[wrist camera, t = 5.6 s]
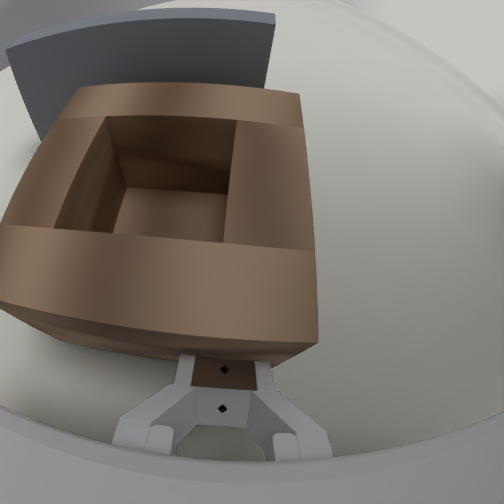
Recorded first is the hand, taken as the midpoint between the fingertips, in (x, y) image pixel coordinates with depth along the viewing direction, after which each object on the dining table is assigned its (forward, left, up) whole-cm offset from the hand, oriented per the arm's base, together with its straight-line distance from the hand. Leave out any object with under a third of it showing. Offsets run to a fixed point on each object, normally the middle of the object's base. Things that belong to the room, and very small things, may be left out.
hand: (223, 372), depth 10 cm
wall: (+7, -15, -4) cm, 17 cm away
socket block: (+3, -6, -4) cm, 8 cm away
